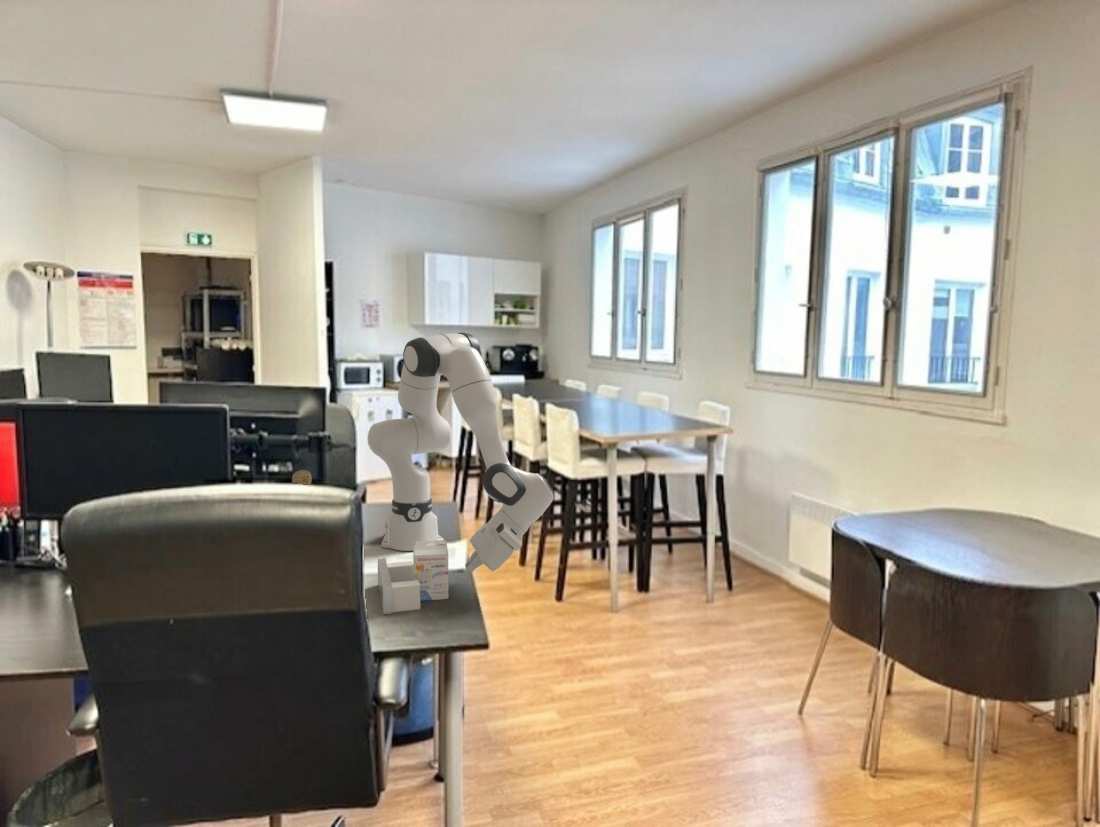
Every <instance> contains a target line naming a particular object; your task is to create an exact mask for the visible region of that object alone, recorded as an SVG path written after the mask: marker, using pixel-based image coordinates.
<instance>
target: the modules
mask: <svg viewBox="0 0 1100 827" xmlns="http://www.w3.org/2000/svg"><path fill="white" fill-rule="evenodd" d="M386 563H387V567H388V571H389V576H390V580H391V584H392V613H399V612H408V611H417V610H421V601H420V584H419V581H418V580H413V560H406V561H405V560H404V561H396V562H395V561H394V562H386Z"/></svg>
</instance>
